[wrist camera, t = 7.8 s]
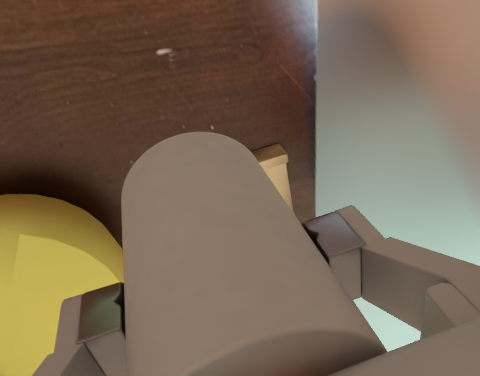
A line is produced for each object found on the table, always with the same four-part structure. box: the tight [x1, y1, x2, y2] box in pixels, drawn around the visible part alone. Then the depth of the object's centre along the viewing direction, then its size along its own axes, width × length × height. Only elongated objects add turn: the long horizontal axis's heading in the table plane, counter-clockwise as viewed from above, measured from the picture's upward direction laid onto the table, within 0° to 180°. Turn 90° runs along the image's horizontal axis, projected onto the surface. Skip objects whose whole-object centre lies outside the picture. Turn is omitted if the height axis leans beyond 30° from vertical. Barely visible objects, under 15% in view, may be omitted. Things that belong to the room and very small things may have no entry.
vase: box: [0, 194, 124, 376], centre depth 31 cm, size 18×18×19 cm
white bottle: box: [121, 132, 387, 376], centre depth 10 cm, size 5×5×10 cm
